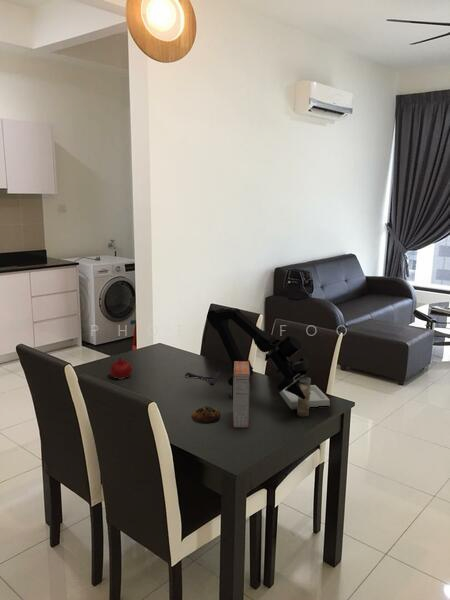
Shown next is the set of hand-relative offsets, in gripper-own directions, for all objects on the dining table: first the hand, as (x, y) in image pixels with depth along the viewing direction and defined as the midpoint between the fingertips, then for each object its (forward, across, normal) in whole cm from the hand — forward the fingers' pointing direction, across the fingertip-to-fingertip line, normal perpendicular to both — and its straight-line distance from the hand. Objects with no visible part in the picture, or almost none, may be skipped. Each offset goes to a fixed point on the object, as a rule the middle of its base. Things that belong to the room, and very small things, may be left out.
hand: (307, 396), depth 193 cm
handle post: (+4, 0, +6) cm, 8 cm away
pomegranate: (-56, -11, +67) cm, 88 cm away
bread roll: (-16, -24, +27) cm, 39 cm away
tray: (0, +13, +10) cm, 16 cm away
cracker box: (-8, -18, +19) cm, 27 cm away
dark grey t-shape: (-33, +9, +45) cm, 57 cm away
